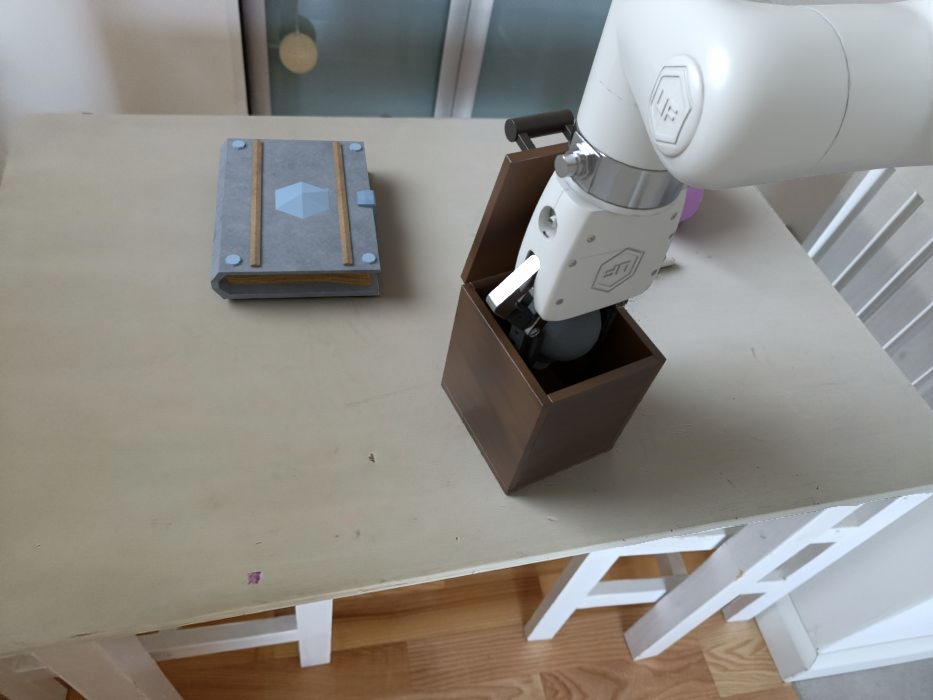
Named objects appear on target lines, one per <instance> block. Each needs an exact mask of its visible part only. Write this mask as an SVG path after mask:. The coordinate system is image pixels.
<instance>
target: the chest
mask: <svg viewBox="0 0 933 700" xmlns="http://www.w3.org/2000/svg"><path fill="white" fill-rule="evenodd" d="M514 271H515V270H513V271H509V272H506V273H502V274H499V275H495V276H491V277H488V278H484V279H481V280H477V281H474V282H470V283H467V284H464V283H463V284H461V286H460V291H459V295H458V299H457V304H456V310H455V315H454V319H453V325H452V328H451V334H450V339H449V344H448V349H447V354H446V358H445V363H444V367H443V368H444V369H443V373H442V378H441V380H440V381H441V382H440V386H441V388H442V390H443V391H444V393H445V395H446V396H447V398H448V399H449V401H450V403H451V405H452V407H453V408H454V409H455V412H456V413H457V414H458V417H459V418H460V420H461V422H462V423H463V426H464V427H465V428H466V430H467V432H468V433H469V436H470V437H471V439H472V440H473V442H474V444H475V446H476V447H477V449H478V450H479V452H480V454H481V456H482V457H483V459H484V461H485V463H486V464H487V466H488V468H489V469H490V471H491V473H492V474H493V476H494V477H495V480H496V481H497V483H498V484H499V486H500V488H501V490H502V491H503V493H504V495H505V496H508V495H509V494H513V493H514V492H517V491H519V490H522V489H523V488H525V487H528V486H530V485H533V484H535V483H537V482H540V481H542V480H544V479H547V478H549V477H551V476H554V475H555V474H559V473H561V472H563V471H565V470H568V469H570V468H573V467H575V466H577V465H579V464H581V463H583V462H586V461H588V460H591V459H593V458H596V457H597V456H600V455H602V454H605V453H606V452H608V451H609V452H610V451H611V450H612V449H613V448H614V447H615V444H616V443H617V441H618V440H619V438H620V437H621V435H622V434H623V431H624V430H625V428H626V427H627V425H628V424H629V421H630V420H631V418H632V417H633V415H634V414H635V412H636V410H637V409H638V407H639V405H640V404H641V403H642V400H643V399H644V397H645V395H646V394H647V393H648V391H649V389H650V387H651V386H652V385H653V382H654V380H656V377H657V376H658V374H659V373H660V371H661V370H662V368H663V366H664V365H665V363H666V361H667V358H666V356H665V355H664V354H663V353H662V352H661V350H660V349H659V348H658V346H657V345H656V344H655V343H654V342H653V341H652V339H651V338H650V337H649V336H648V334H646V331H644V329H643V328H642V327H641V326H640V324H639V323H637V320H635V319H634V317H633V316H632V315H631V313H629V311H628V310H627V309H626V308H625V306H623V307H622V308H620V309H615V310H616V311H617V314H616V316H615V318H614V320H613V322H612V324H611V326H610V329H609V331H608V333H607V335H606V337H605V339H604V341H603V342H602V343H599V344H594V345H593V347H592V348H591V349H590V351H589V352H587V353H586V354H584V355H583V356H581V357H579V358H577V359H575V360H569V361H563V362H562V361H556V362H554V363H550V364H549V365H548V367H546V368H545V369H541V370H536V369H533V368H528V367H527V366H526V364H525V363H524V361H523V360H522V358H521V357H520V355H519V354H518V352H517V351H516V349H515V348H514V347H513V345H512V344H511V342H510V341H509V339H508V336H509V333H510V330H511V326H512V324H511V323H510V322H509V321H508V320H507V319H504V318H502V317H500V316H498V315H497V314H495V313H494V312H493V310H492V309H491V307H490V306H489V304H488V303H487V301H486V297H487V296H488V295H489V294H490V293H491V292H492V291H493V290H494V289H495V288H496V287H498V286H499V285H500V284H501V283H502V282H503V281H504V280H505V279H506V278H507V277H509V276H510V275H511V274H512V273H513V272H514Z"/></svg>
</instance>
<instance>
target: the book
mask: <svg viewBox="0 0 933 700" xmlns="http://www.w3.org/2000/svg"><path fill="white" fill-rule="evenodd" d="M219 151H220V152H219V163H218V175H217V176H218V178H217V191H216V205H215V216H214V217H215V218H214V219H215V220H214V231H213V243H212V244H213V245H212V256H211V257H212V259H211V271H210V287H211V289H212V290H213V291H214V292H215V293H216V294H217V295H218V296H219V297H221V299H223V300H236V299H237V300H238V299H277V298H279V299H281V298H317V297H318V298H319V297H322V298H323V297H361V296H363V297H364V296H365V297H366V296H379V295H380V289H379V280H378V273H381V263H380V255H379V247H378V240H377V239H378V238H377V232H376V231H377V230H376V218H377V201H376V199H377V198H376V194H375V191H374V190H372V189H371V187H370V178H369V172H368V171H369V170H368V164H367V163H368V162H367V156H366V149H365V141H361V140H359V141H356V140H355V141H354V140H321V139H320V140H319V139H318V140H315V139H314V140H313V139H279V138H278V139H274V138H273V139H272V138H238V137H237V138H235V137H234V138H233V137H228V138H226V139H225V141H224V142H223V144H222V145H221V146H220V150H219Z"/></svg>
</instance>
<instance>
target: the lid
mask: <svg viewBox="0 0 933 700" xmlns="http://www.w3.org/2000/svg"><path fill="white" fill-rule="evenodd" d="M574 117H575V116H574V113H573V112H572V110H571V109H570V108H561V109H556V110H550V111H544V112H539V113H533V114H528V115H522V116H517V117H511V118H508V119H506V120H505V123H504V129H503V131H504V135H505V137H506V139H507V141H508V142H510V143H516V145H517V147H518V148H519V149H520V151H515V152H510V153H506V154H505V155H504V159H503V161H502V164H501V167H500V169H499V172H498V174H497V177H496V180H495V182H494V185H493V188H492V191H491V194H490V196H489V199H488V202H487V204H486V207H485V209H484V212H483V215H482V217H481V220H480V223H479V226H478V228H477V230H476V234H475V236H474V240H473V242H472V244H471V247H470V250H469V252H468V254H467V258H466V260H465V263H464V265H463V269H462V272H461V274H460V279H461V280H462V282H463V284H467V283H470V282H474V281H477V280H481V279H484V278H488V277H491V276H495V275H499V274H502V273H506V272H509V271H513V270H515V267H516V262H517V258H518V254H519V251H520V248H521V245H522V242H523V239H524V236H525V233H526V230H527V228H528V225H529V223H530V220H531V218H532V215H533V213H534V211H535V208H536V206H537V204H538V202H539V200H540V198H541V196H542V194H543V192H544V190H545V188H546V186H547V184H548V182H549V180H550V178H551V176H552V175H553V173H554V171H555V167H554V162H555V158H556V157H557V156H558V155H562V154H565V153H566V150H567V146H568V143H569V140H570V137H571V133H572V130H573V127H574V124H575V118H574ZM557 134H562V135H563V136H564V137H565V139H566V140H567V141H565V142H560V143H555V144H549V145H544V146H540V147H536V145H535V144H534V142H533V140H532V139H536V138H542V137H547V136H552V135H557Z"/></svg>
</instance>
